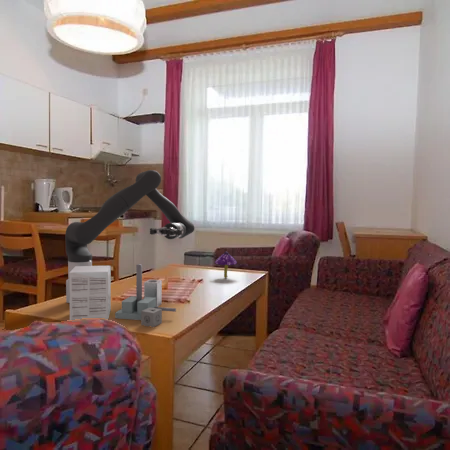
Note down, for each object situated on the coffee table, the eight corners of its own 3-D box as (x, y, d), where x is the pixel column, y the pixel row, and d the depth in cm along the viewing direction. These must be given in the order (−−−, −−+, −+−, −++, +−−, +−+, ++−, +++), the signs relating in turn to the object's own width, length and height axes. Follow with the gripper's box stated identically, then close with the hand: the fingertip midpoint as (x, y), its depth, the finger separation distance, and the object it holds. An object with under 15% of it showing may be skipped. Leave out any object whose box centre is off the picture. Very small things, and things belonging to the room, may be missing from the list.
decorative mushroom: (230, 281, 203) (230, 253, 202) (210, 278, 209) (210, 251, 208) (240, 277, 214) (241, 251, 213) (221, 275, 220) (222, 249, 219)
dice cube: (153, 327, 126) (153, 312, 126) (141, 325, 128) (141, 311, 128) (161, 323, 131) (161, 309, 130) (149, 321, 133) (150, 307, 132)
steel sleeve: (144, 306, 151) (144, 282, 150) (149, 303, 156) (149, 279, 155) (156, 307, 150) (157, 282, 149) (161, 304, 155) (161, 280, 154)
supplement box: (75, 311, 143) (74, 265, 142) (111, 309, 146) (111, 265, 145) (68, 322, 130) (68, 272, 129) (108, 320, 133) (108, 271, 132)
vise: (115, 318, 135) (115, 265, 134) (127, 310, 145) (127, 261, 144) (170, 322, 132) (171, 268, 130) (179, 314, 141) (179, 264, 140)
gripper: (159, 222, 178) (145, 223, 163) (188, 223, 176) (176, 224, 160) (159, 238, 179) (145, 240, 163) (187, 239, 176) (176, 242, 160)
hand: (160, 232), depth 161 cm, fingers open, 8 cm apart
